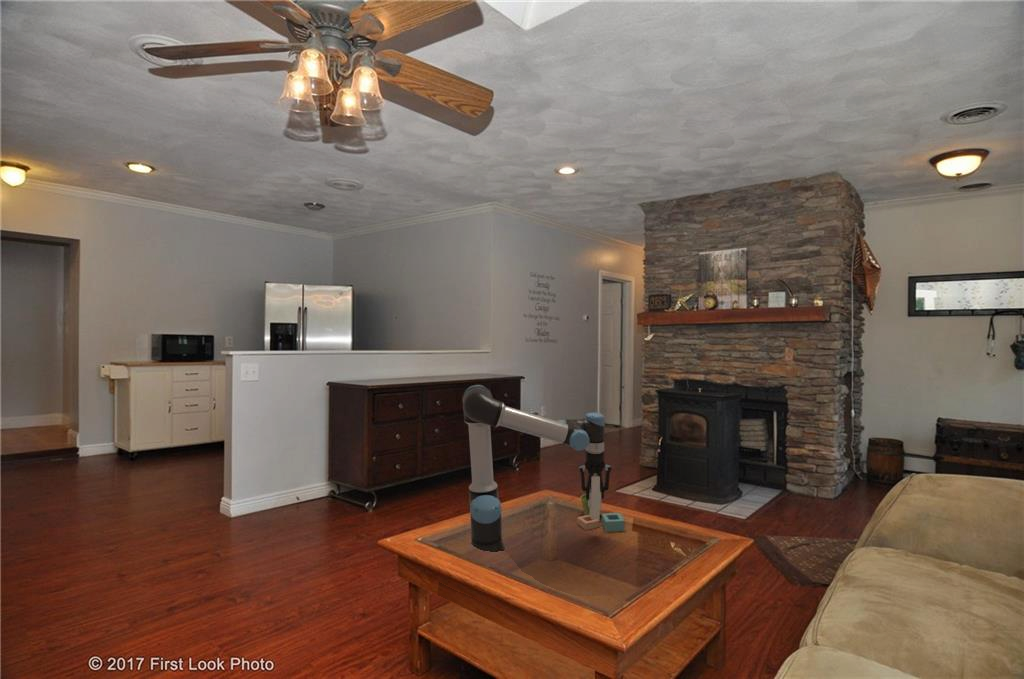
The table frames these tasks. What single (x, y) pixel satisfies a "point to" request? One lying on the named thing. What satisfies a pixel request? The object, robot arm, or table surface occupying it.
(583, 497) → the plant pot
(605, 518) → the teal square hollow block
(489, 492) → the robot arm
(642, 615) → the table surface
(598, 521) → the beige square hollow block
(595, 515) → the light grey post
